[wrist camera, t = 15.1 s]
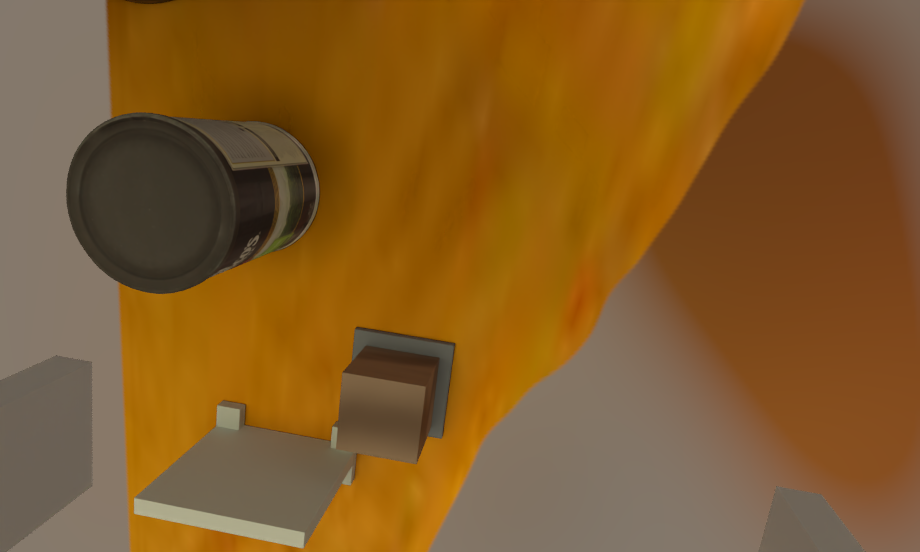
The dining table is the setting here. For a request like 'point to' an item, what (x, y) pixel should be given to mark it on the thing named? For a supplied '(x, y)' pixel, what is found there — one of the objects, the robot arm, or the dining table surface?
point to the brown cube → (387, 404)
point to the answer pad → (418, 347)
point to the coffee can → (187, 197)
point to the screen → (251, 481)
